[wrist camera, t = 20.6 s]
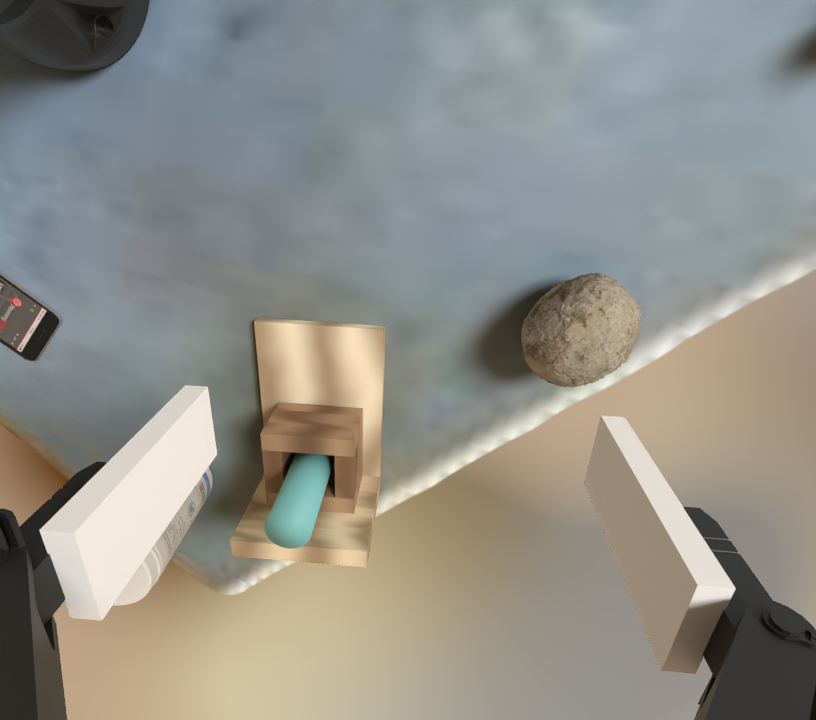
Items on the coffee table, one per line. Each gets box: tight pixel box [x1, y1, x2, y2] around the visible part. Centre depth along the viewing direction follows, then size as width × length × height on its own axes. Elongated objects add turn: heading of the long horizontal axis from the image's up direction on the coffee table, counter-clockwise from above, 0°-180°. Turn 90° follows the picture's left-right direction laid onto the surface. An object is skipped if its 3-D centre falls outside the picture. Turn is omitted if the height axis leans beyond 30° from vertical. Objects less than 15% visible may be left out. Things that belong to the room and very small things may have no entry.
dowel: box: [265, 453, 335, 549], centre depth 47 cm, size 4×4×12 cm
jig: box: [230, 318, 385, 567], centre depth 48 cm, size 13×20×12 cm, turn 177°
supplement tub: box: [113, 467, 213, 605], centre depth 52 cm, size 10×10×15 cm
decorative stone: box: [521, 273, 642, 387], centre depth 43 cm, size 10×8×10 cm
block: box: [260, 402, 363, 514], centre depth 51 cm, size 9×9×6 cm
